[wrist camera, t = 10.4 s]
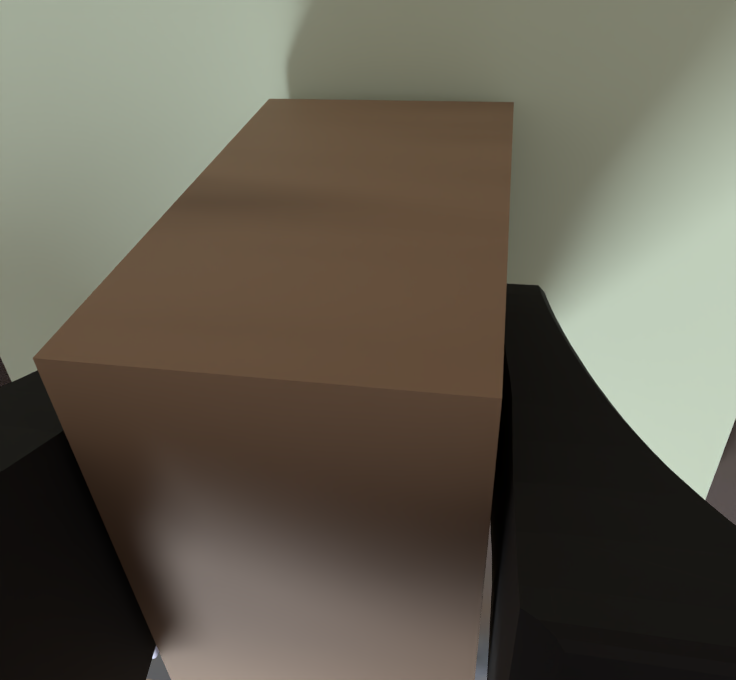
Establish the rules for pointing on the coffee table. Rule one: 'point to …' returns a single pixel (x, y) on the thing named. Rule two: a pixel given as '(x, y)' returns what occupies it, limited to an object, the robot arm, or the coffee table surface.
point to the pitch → (408, 83)
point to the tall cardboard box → (306, 394)
